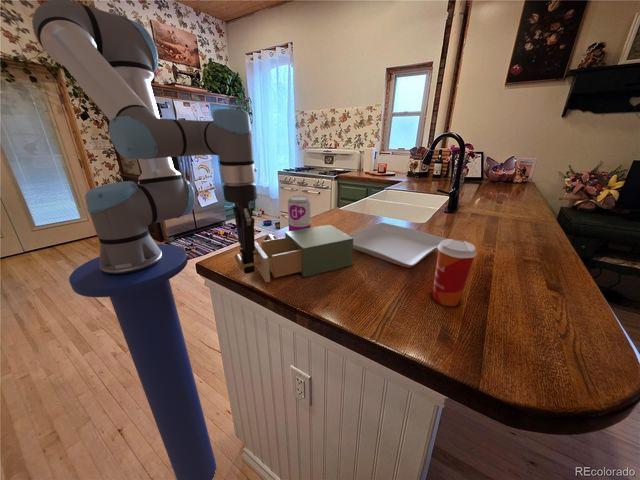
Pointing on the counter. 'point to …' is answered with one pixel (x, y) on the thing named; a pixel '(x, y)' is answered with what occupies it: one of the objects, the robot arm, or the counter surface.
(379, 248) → the square plate
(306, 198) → the supplement can
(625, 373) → the counter surface
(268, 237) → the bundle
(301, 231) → the cabinet
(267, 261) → the drawer
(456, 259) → the paper cup
